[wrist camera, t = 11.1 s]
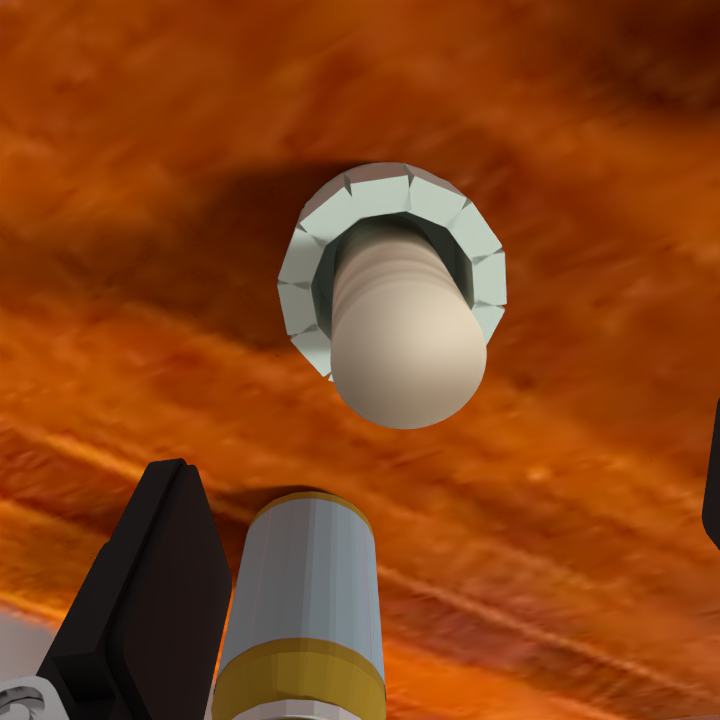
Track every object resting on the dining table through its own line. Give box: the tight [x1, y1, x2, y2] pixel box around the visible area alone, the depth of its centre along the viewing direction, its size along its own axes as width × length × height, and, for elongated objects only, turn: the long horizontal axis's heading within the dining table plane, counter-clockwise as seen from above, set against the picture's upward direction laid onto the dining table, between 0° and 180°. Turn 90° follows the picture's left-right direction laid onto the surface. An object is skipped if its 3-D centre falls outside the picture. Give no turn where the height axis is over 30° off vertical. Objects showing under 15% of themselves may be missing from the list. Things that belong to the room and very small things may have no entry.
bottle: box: [211, 491, 386, 720], centre depth 26 cm, size 7×7×15 cm
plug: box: [330, 214, 486, 429], centre depth 21 cm, size 4×4×10 cm
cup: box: [277, 162, 507, 382], centre depth 24 cm, size 8×8×5 cm
